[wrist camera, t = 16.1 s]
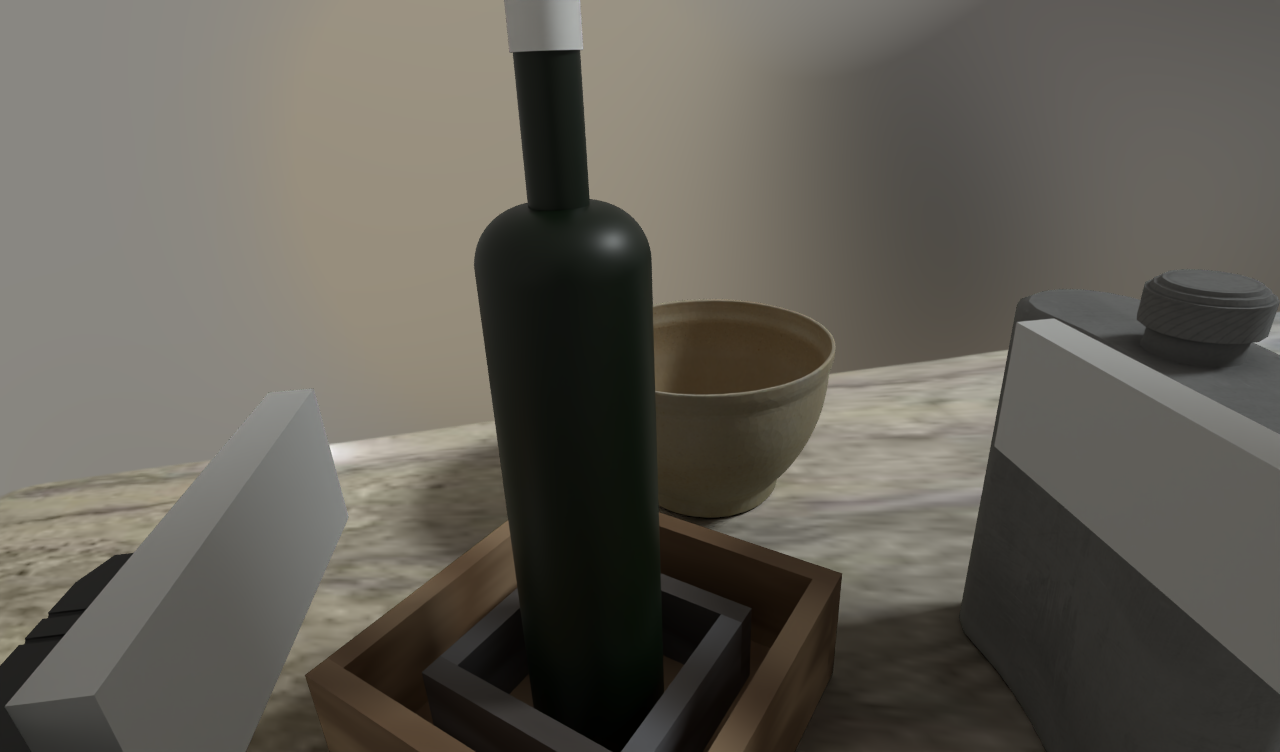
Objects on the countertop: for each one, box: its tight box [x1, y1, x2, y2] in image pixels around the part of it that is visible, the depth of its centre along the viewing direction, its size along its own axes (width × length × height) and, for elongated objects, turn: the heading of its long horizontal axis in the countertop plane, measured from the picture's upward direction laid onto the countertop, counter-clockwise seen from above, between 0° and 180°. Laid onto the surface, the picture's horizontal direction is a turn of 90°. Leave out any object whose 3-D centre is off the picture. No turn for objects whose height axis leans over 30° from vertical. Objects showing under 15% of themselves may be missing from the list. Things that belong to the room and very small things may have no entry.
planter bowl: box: [653, 299, 835, 518], centre depth 48 cm, size 16×16×11 cm
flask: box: [959, 269, 1280, 752], centre depth 27 cm, size 15×6×20 cm, turn 0°
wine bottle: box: [474, 0, 664, 752], centre depth 25 cm, size 6×6×30 cm
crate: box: [305, 512, 842, 752], centre depth 31 cm, size 16×16×6 cm
